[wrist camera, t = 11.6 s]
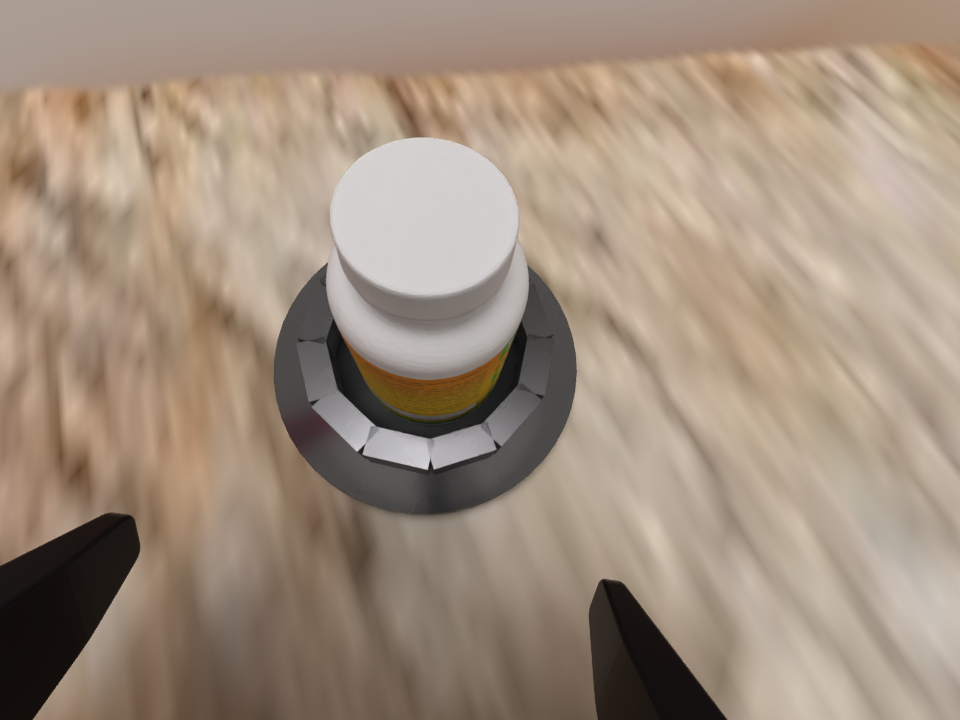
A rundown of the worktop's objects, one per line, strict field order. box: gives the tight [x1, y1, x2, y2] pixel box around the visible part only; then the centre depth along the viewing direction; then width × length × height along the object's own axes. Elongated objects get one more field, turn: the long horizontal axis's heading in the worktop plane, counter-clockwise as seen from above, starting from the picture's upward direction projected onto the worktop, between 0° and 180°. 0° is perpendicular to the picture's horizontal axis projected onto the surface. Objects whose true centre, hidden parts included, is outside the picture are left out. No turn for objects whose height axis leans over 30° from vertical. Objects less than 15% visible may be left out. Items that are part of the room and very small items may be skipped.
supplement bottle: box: [326, 138, 529, 426], centre depth 14 cm, size 5×5×10 cm
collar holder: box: [274, 263, 577, 515], centre depth 19 cm, size 12×12×3 cm
